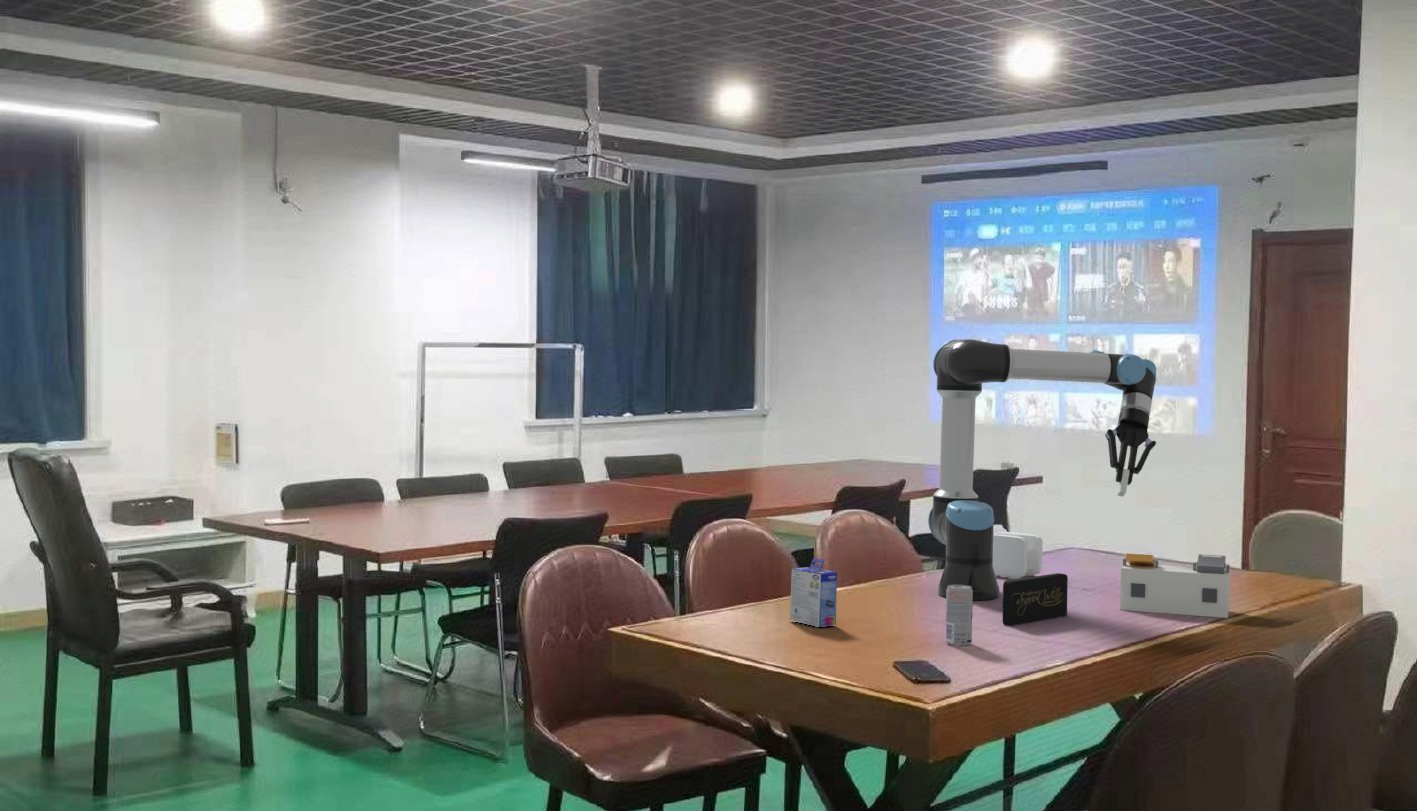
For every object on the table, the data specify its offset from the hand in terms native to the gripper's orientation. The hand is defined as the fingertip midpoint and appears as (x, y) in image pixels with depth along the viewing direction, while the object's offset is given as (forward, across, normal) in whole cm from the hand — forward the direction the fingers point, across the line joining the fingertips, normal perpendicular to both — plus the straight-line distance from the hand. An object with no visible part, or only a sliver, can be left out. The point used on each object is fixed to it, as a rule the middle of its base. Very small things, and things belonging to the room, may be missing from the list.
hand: (1121, 493), depth 344 cm
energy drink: (+65, +37, +42) cm, 85 cm away
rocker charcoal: (+19, -20, +14) cm, 31 cm away
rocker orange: (+20, -5, +9) cm, 22 cm away
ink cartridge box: (+63, +67, +24) cm, 95 cm away
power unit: (+29, -15, +6) cm, 34 cm away
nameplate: (+46, +18, +18) cm, 53 cm away
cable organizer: (+14, +17, -40) cm, 46 cm away
